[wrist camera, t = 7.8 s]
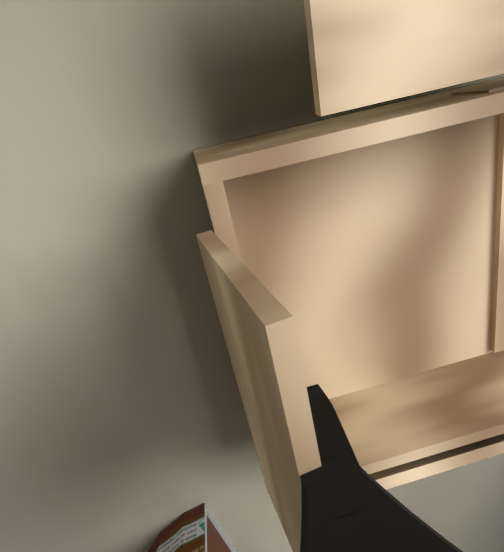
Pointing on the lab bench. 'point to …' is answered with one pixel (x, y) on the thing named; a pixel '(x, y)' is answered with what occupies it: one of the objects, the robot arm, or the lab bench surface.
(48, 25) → the lab bench surface
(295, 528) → the flap
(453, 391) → the carton
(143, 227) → the lab bench surface
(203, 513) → the food container
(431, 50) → the flap
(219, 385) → the lab bench surface
